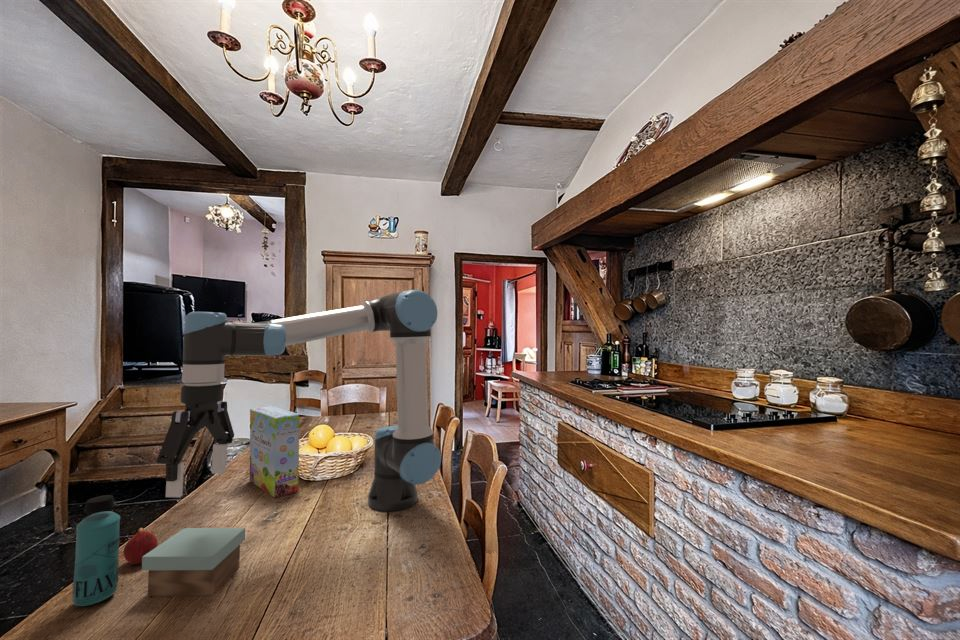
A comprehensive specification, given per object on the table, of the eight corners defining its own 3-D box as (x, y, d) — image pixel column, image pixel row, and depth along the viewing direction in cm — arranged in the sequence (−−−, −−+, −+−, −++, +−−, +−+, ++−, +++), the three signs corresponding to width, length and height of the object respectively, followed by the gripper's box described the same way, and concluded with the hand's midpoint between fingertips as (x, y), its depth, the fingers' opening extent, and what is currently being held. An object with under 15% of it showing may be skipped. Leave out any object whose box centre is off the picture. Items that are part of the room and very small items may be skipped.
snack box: (246, 482, 140) (248, 408, 141) (272, 475, 147) (274, 405, 147) (272, 499, 126) (274, 416, 127) (300, 491, 132) (302, 412, 133)
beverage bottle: (64, 619, 73) (69, 507, 73) (79, 598, 79) (84, 494, 79) (111, 608, 76) (115, 501, 76) (123, 588, 82) (127, 489, 82)
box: (239, 569, 88) (240, 542, 89) (211, 597, 79) (212, 566, 79) (181, 570, 88) (182, 542, 88) (147, 598, 79) (148, 567, 79)
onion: (163, 560, 92) (164, 524, 92) (134, 574, 86) (135, 536, 87) (145, 555, 94) (147, 520, 94) (116, 569, 88) (118, 532, 89)
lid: (244, 545, 90) (245, 527, 90) (211, 576, 78) (212, 556, 78) (183, 545, 89) (184, 528, 89) (141, 576, 78) (142, 556, 78)
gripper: (222, 377, 99) (218, 464, 98) (136, 390, 74) (129, 508, 73) (252, 378, 99) (249, 465, 98) (177, 391, 74) (171, 509, 73)
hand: (198, 484), depth 85 cm, fingers open, 13 cm apart
